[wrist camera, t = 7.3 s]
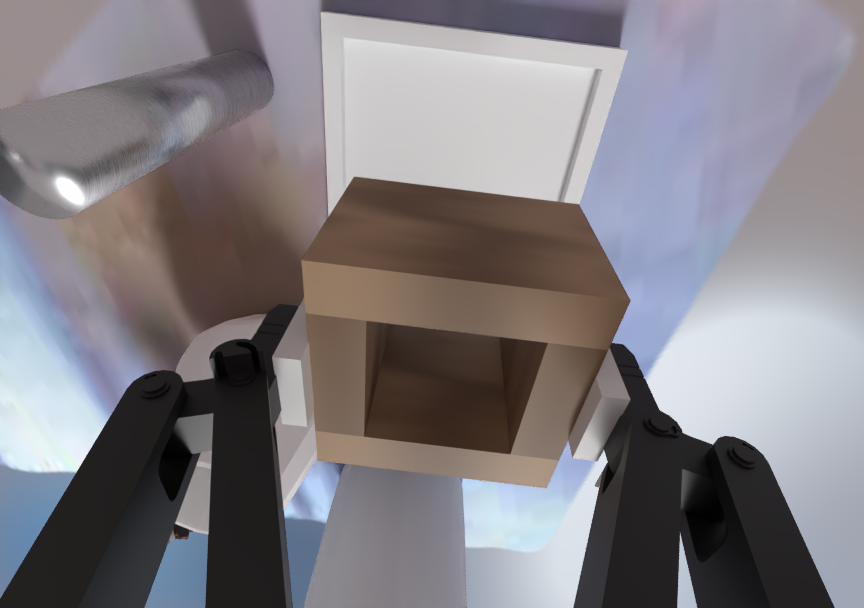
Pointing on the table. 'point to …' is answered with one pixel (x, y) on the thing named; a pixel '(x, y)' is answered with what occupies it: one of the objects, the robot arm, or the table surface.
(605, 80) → the tray
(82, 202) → the pin
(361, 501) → the utensil holder
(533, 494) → the table surface
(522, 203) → the wooden square holder
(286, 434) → the cup
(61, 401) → the table surface
